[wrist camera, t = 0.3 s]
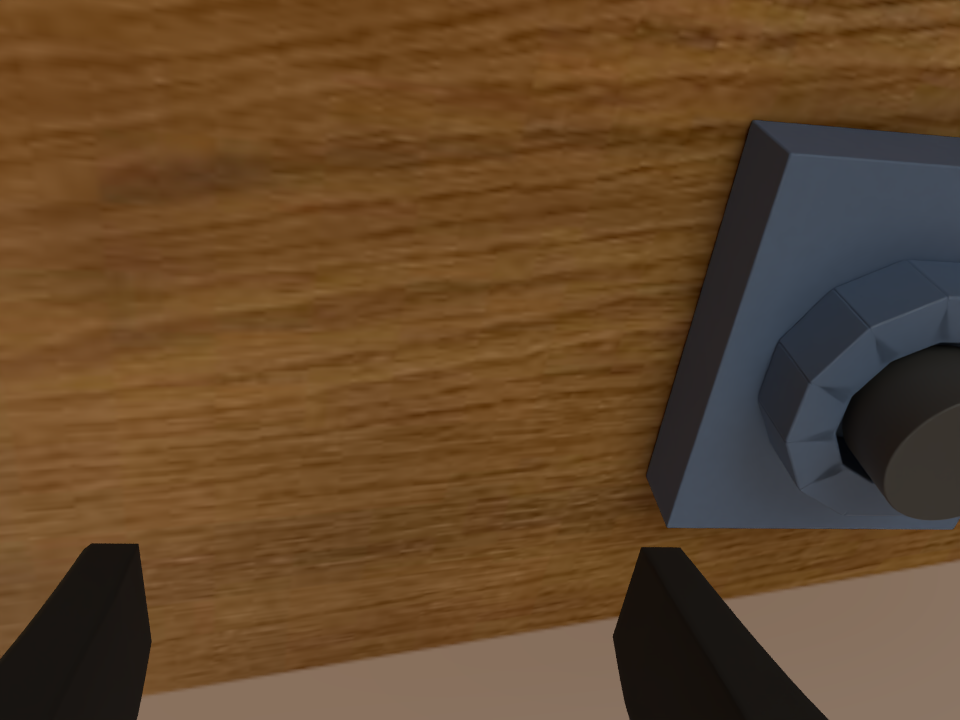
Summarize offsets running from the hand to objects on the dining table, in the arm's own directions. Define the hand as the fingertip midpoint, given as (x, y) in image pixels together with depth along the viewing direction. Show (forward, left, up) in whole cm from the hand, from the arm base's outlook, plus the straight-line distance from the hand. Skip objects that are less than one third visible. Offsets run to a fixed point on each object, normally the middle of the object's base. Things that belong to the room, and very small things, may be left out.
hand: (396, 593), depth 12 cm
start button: (-1, -13, -7) cm, 14 cm away
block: (-1, -13, -10) cm, 16 cm away
